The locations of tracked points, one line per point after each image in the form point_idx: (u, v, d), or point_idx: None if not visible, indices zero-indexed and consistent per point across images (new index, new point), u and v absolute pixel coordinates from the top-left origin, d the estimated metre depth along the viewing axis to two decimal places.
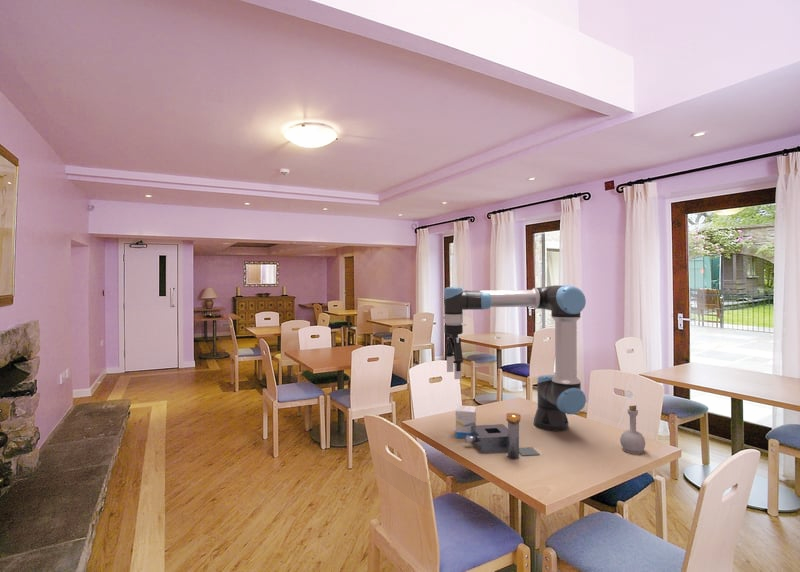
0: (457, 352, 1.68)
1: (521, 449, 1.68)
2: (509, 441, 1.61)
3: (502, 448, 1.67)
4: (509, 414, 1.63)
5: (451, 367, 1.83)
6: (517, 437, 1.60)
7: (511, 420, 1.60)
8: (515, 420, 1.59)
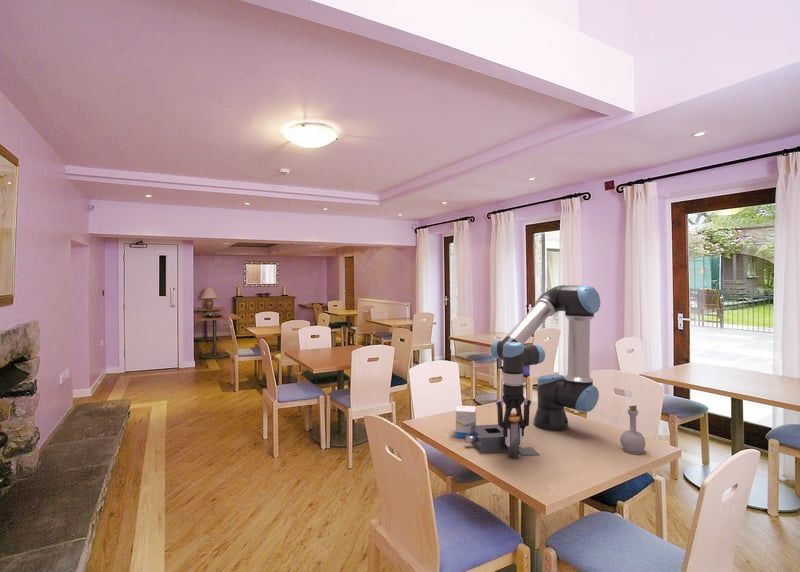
0: (498, 416, 1.62)
1: (521, 449, 1.68)
2: None
3: (502, 448, 1.67)
4: None
5: (519, 440, 1.62)
6: (517, 437, 1.60)
7: (511, 420, 1.60)
8: (515, 420, 1.59)
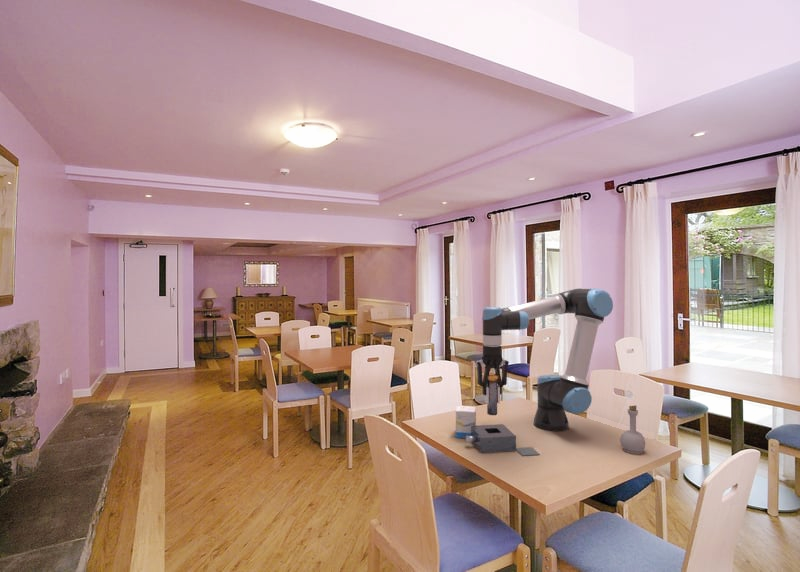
0: None
1: (521, 449, 1.68)
2: None
3: (502, 448, 1.67)
4: None
5: (497, 398, 1.73)
6: (495, 395, 1.72)
7: (490, 379, 1.71)
8: (493, 379, 1.71)
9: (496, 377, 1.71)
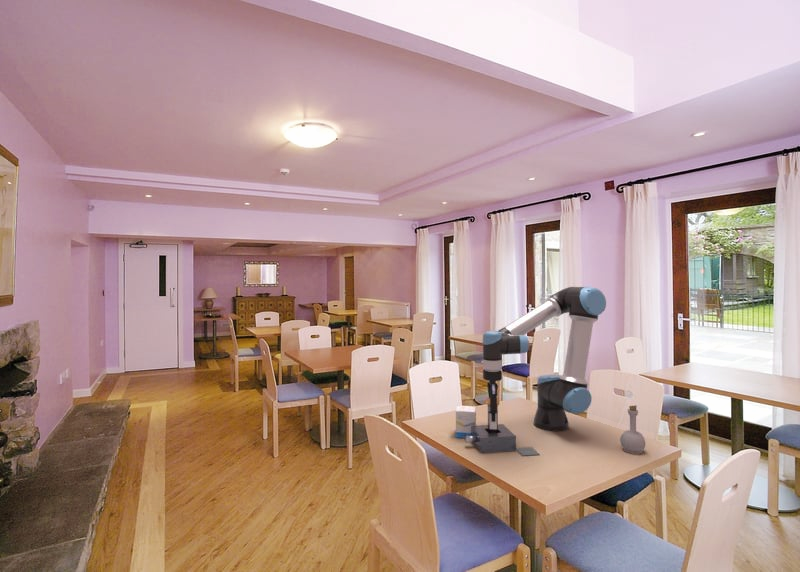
0: (492, 404, 1.68)
1: (521, 449, 1.68)
2: None
3: (502, 448, 1.67)
4: None
5: None
6: None
7: (498, 403, 1.72)
8: None
9: None
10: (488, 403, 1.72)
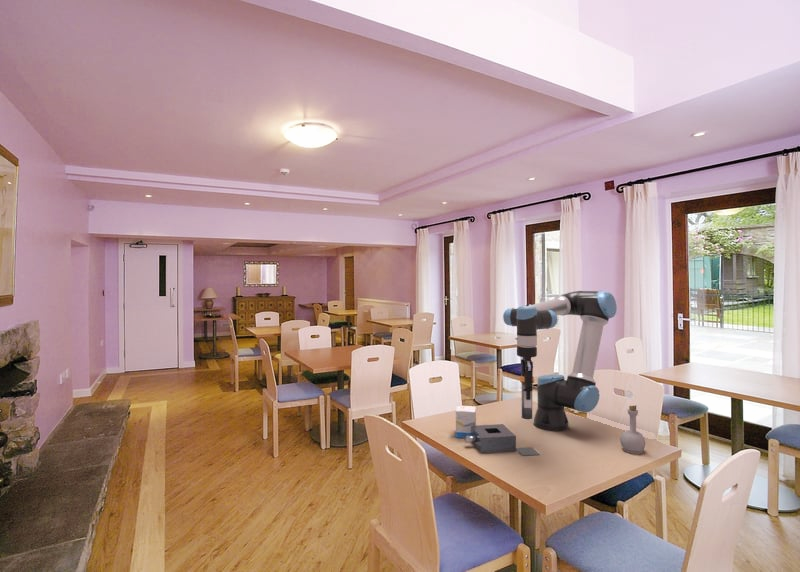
0: (527, 381, 1.60)
1: (521, 449, 1.68)
2: None
3: (502, 448, 1.67)
4: None
5: None
6: None
7: None
8: (533, 380, 1.66)
9: None
10: (522, 381, 1.65)
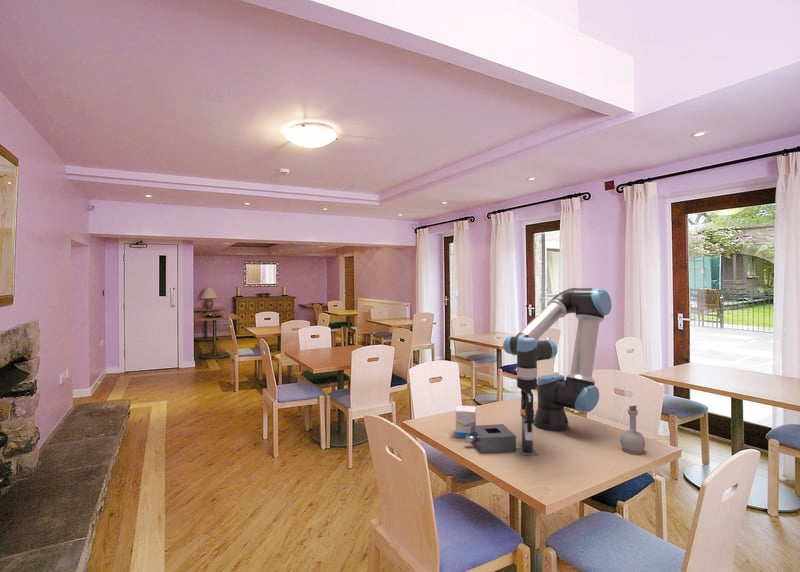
0: (528, 413, 1.59)
1: (521, 449, 1.68)
2: None
3: (502, 448, 1.67)
4: None
5: None
6: None
7: None
8: None
9: None
10: (523, 414, 1.65)
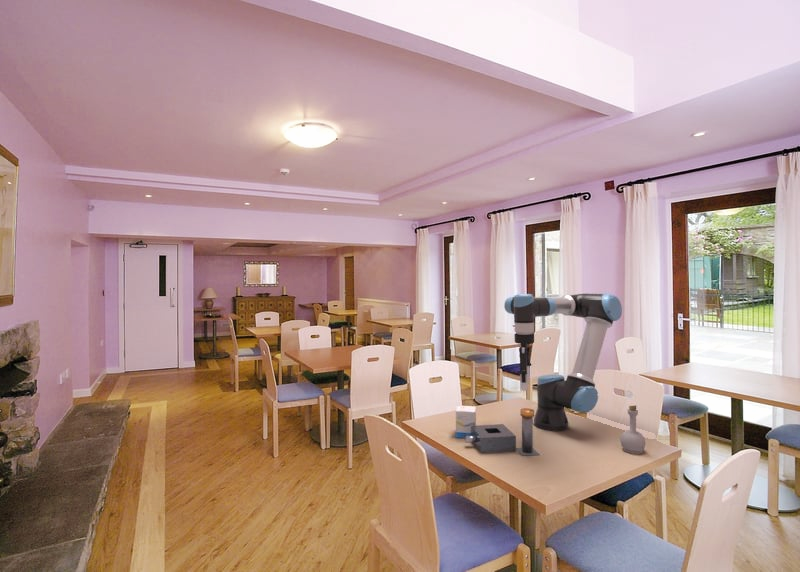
0: (521, 363, 1.61)
1: (521, 449, 1.68)
2: (529, 437, 1.65)
3: (502, 448, 1.67)
4: (525, 411, 1.65)
5: (527, 377, 1.75)
6: None
7: (533, 415, 1.64)
8: None
9: None
10: (523, 414, 1.65)
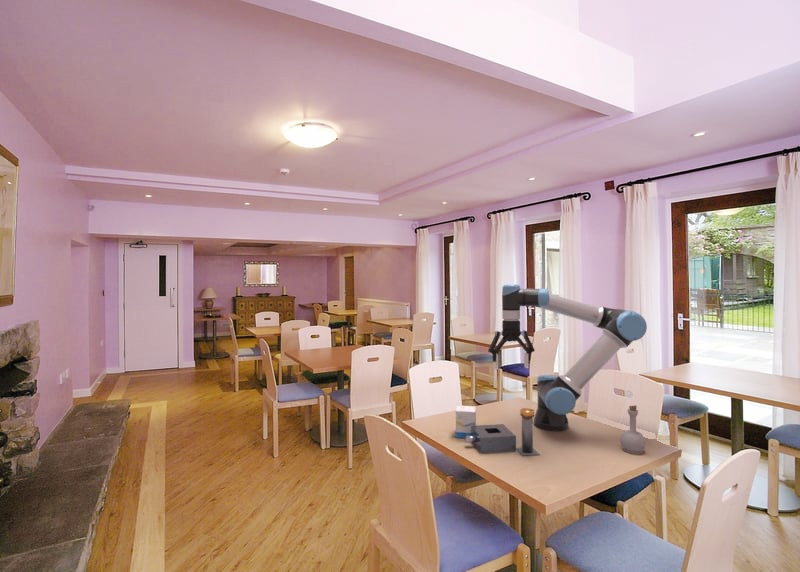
0: (491, 343, 1.85)
1: (521, 449, 1.68)
2: (529, 437, 1.65)
3: (502, 448, 1.67)
4: (525, 411, 1.65)
5: (526, 363, 1.86)
6: None
7: (533, 415, 1.65)
8: None
9: None
10: (523, 414, 1.65)
